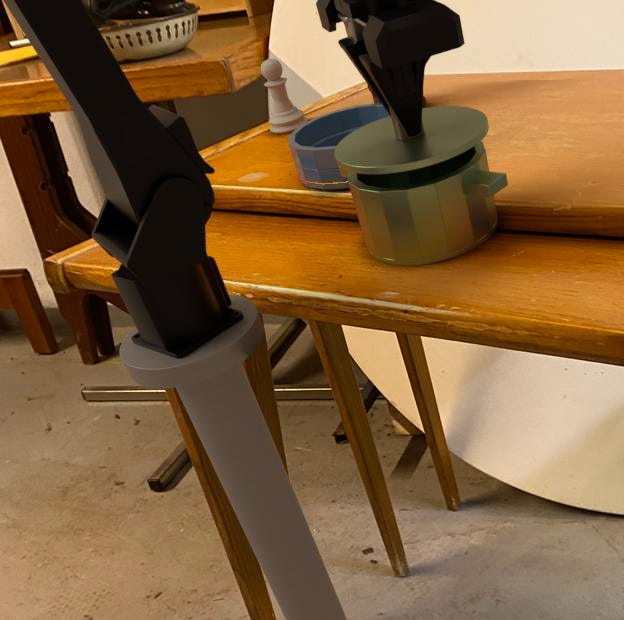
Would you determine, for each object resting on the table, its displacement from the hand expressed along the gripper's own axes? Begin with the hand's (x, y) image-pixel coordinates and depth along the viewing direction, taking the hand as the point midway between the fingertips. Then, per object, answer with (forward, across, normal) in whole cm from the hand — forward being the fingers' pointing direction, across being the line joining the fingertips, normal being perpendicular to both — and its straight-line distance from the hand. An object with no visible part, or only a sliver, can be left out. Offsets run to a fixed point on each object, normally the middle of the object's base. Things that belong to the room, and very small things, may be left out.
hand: (409, 130), depth 74 cm
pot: (+9, 0, 0) cm, 9 cm away
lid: (+1, 0, 0) cm, 1 cm away
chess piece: (+9, +43, +4) cm, 44 cm away
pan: (+9, +21, +1) cm, 23 cm away
